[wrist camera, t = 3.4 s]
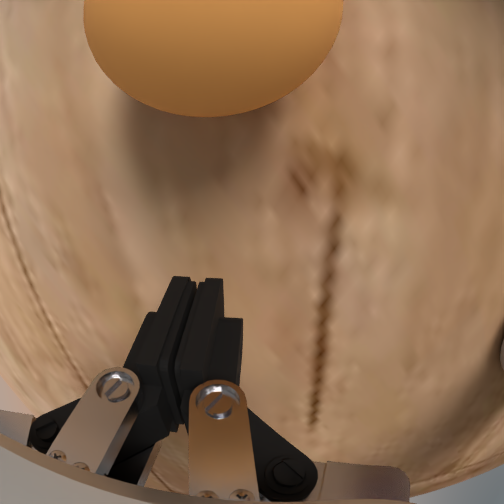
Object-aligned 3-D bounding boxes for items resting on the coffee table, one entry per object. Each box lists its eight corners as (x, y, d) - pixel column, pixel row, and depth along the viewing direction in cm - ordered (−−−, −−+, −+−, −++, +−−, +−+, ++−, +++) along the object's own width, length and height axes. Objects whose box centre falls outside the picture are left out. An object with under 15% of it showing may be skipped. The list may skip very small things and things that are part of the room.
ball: (322, -40, 7) (361, -138, 1) (319, 115, 9) (375, 140, 4) (148, -33, 7) (55, -100, 2) (143, 115, 10) (26, 147, 4)
